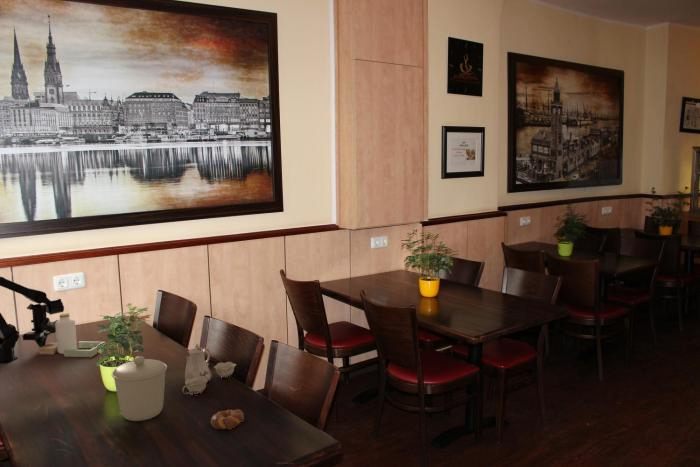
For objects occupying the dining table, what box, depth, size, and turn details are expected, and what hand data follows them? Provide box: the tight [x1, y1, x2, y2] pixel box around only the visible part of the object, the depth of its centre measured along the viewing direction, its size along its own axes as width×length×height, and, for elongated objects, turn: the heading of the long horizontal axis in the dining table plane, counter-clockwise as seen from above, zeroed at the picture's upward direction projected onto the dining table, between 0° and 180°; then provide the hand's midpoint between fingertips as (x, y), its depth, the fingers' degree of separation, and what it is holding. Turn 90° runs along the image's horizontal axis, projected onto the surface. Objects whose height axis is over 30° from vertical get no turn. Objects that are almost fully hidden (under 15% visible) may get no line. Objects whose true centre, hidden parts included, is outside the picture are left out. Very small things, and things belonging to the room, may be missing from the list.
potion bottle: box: [54, 313, 78, 355], centre depth 266 cm, size 8×8×18 cm
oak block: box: [38, 342, 58, 356], centre depth 268 cm, size 8×7×4 cm
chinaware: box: [182, 343, 237, 395], centre depth 224 cm, size 28×17×17 cm, turn 160°
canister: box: [111, 355, 168, 422], centre depth 197 cm, size 18×18×21 cm
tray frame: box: [63, 340, 106, 358], centre depth 266 cm, size 13×13×3 cm
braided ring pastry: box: [210, 408, 245, 430], centre depth 191 cm, size 12×11×4 cm
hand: (42, 349), depth 268 cm, fingers closed
